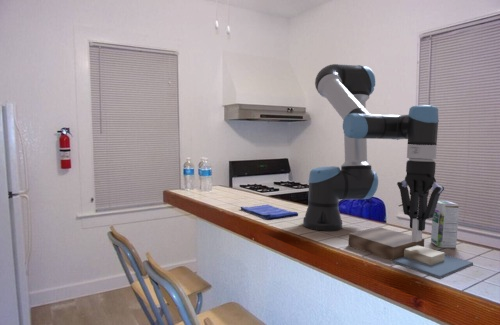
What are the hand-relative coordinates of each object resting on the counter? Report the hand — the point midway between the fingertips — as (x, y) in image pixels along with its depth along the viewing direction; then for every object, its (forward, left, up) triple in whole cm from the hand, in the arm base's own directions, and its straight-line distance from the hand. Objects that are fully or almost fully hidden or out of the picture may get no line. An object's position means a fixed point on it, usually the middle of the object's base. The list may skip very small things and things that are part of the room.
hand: (416, 240), depth 99 cm
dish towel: (-70, -1, -6) cm, 70 cm away
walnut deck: (-10, 0, -5) cm, 11 cm away
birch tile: (+2, 0, -5) cm, 5 cm away
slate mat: (+5, 0, -5) cm, 7 cm away
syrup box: (-2, +20, -5) cm, 21 cm away
